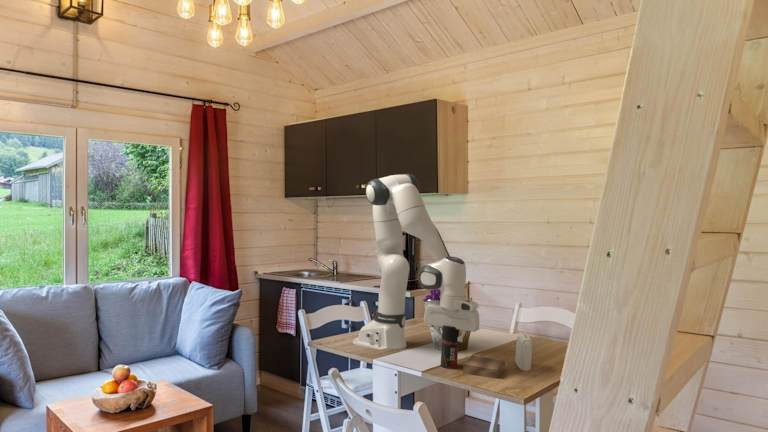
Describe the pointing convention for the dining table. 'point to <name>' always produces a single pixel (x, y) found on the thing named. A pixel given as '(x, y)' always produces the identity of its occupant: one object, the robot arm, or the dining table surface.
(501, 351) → the dining table surface
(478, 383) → the dining table surface
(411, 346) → the dining table surface
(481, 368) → the walnut block
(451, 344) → the deodorant
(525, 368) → the photo printer
